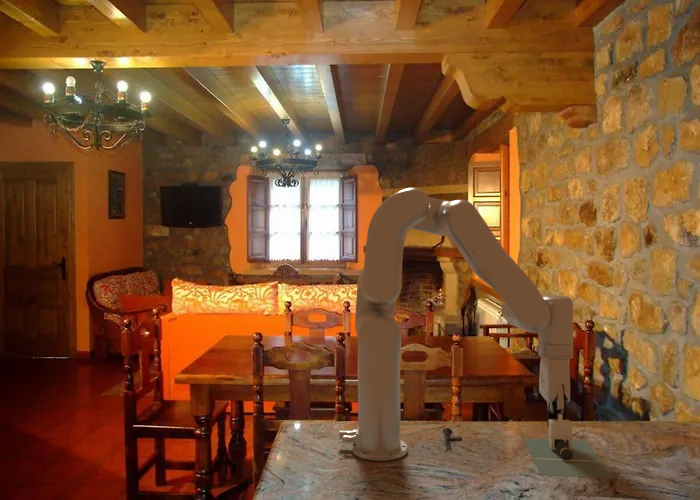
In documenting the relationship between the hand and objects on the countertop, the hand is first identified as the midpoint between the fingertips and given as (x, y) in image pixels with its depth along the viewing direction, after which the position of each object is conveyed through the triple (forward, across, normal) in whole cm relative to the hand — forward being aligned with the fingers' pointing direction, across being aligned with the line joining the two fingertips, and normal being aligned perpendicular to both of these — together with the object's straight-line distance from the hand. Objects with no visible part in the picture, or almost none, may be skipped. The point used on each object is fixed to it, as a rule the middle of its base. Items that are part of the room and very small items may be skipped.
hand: (555, 428), depth 129 cm
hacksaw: (+5, +4, -20) cm, 21 cm away
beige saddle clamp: (+3, +4, 0) cm, 5 cm away
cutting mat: (+4, +8, 0) cm, 9 cm away
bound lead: (+3, +5, 0) cm, 6 cm away
